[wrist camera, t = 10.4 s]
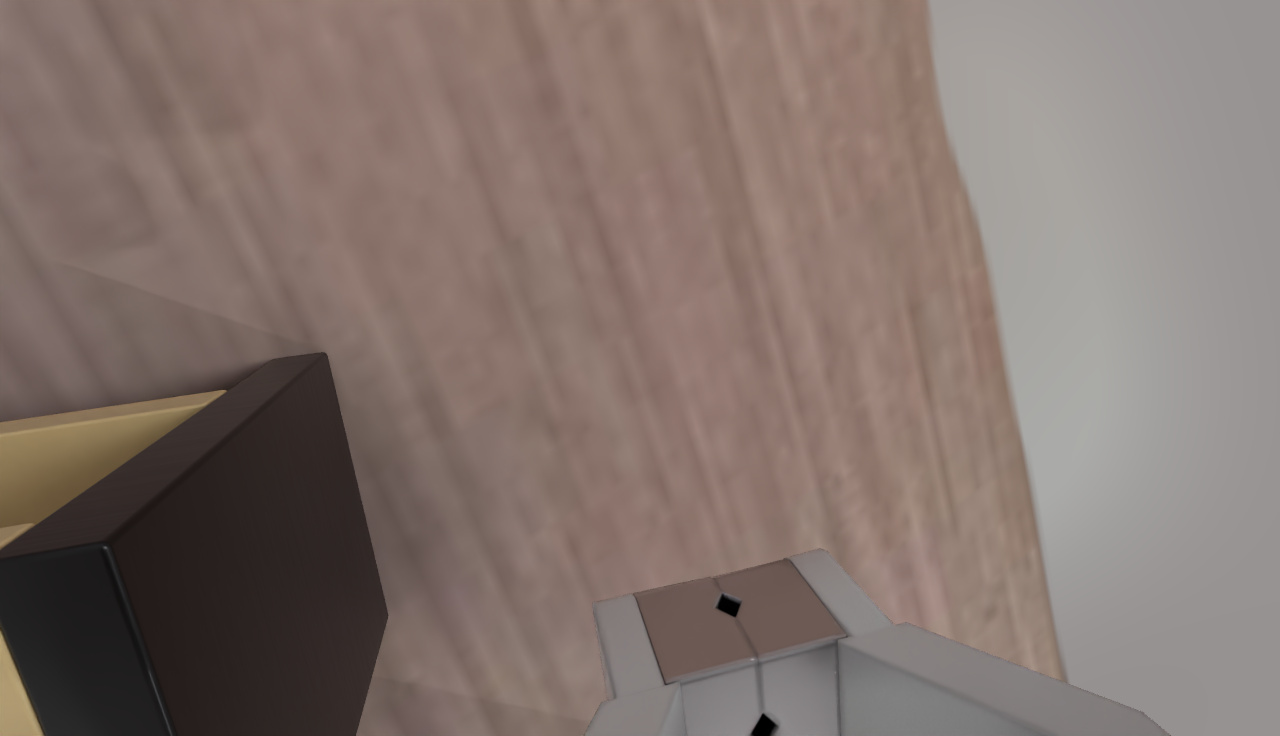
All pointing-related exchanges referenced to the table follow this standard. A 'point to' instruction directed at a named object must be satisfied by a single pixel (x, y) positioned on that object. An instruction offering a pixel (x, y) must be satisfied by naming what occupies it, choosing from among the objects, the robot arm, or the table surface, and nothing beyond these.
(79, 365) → the table surface
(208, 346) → the table surface
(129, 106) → the table surface
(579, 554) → the table surface
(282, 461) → the brown rectangular casing
